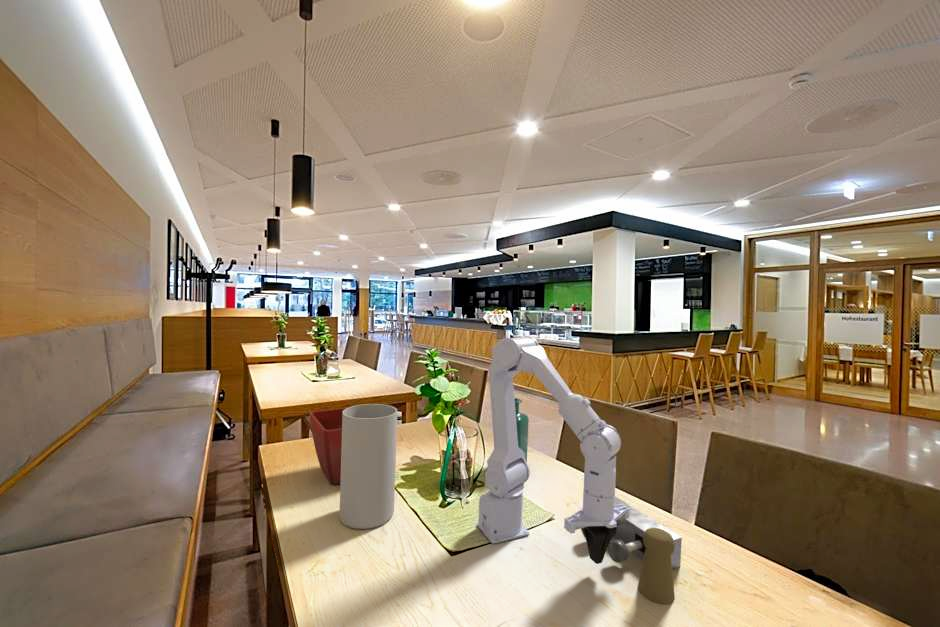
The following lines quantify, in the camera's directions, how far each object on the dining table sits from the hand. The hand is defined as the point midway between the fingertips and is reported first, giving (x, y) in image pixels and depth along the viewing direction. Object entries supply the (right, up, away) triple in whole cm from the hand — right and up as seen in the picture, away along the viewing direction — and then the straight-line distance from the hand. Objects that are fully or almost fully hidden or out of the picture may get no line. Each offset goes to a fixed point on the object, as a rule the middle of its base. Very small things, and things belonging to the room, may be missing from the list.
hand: (595, 560), depth 75 cm
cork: (+10, -3, -4) cm, 11 cm away
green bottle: (-12, -1, +47) cm, 49 cm away
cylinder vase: (-49, -1, +17) cm, 52 cm away
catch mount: (+11, -3, +10) cm, 15 cm away
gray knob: (+7, -2, +3) cm, 8 cm away
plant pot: (-60, 0, +39) cm, 72 cm away
